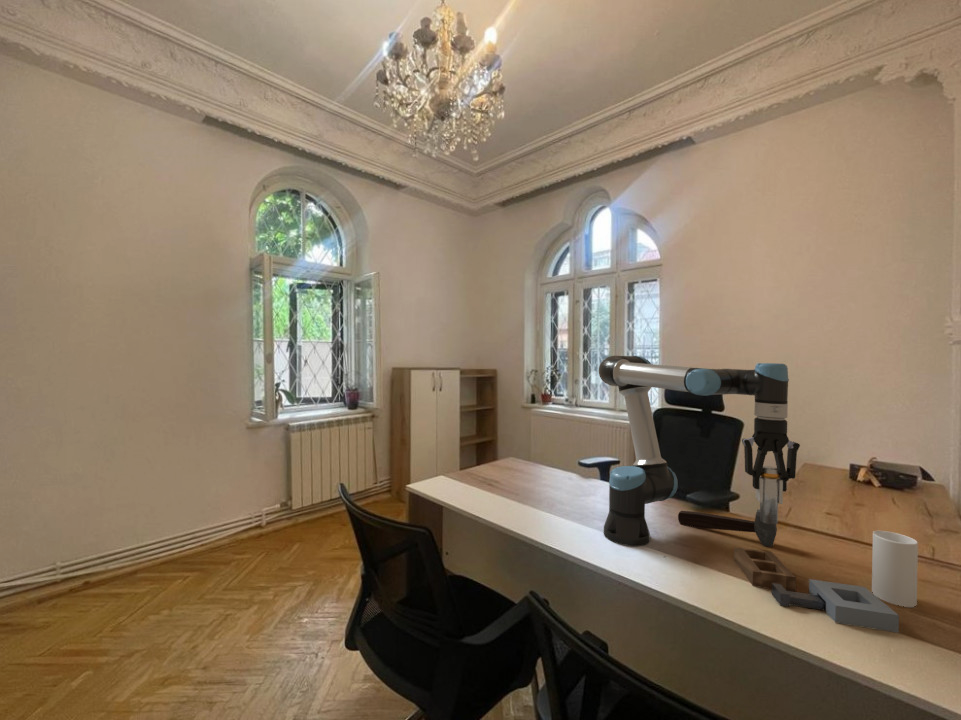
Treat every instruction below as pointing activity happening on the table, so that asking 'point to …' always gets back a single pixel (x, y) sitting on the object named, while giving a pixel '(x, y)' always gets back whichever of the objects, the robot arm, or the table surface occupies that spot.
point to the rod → (769, 495)
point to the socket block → (855, 606)
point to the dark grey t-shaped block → (797, 598)
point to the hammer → (730, 524)
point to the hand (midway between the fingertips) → (768, 501)
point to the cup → (895, 568)
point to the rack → (764, 569)
